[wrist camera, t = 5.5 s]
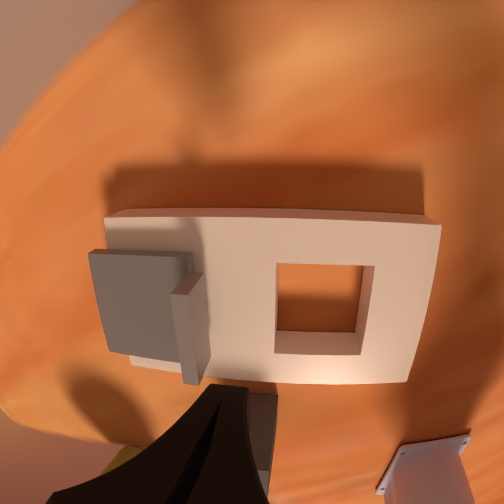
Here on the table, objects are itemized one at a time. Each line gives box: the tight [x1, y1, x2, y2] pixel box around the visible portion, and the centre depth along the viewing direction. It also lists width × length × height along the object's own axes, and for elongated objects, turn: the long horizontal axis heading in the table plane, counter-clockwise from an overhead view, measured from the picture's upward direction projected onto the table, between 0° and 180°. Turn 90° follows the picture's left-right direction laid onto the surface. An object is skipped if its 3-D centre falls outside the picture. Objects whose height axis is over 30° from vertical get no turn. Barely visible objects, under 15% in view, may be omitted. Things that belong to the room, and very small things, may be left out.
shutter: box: [88, 249, 211, 386], centre depth 16 cm, size 6×7×3 cm
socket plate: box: [104, 208, 442, 384], centre depth 18 cm, size 10×18×2 cm, turn 91°
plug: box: [249, 393, 278, 497], centre depth 19 cm, size 4×4×8 cm
